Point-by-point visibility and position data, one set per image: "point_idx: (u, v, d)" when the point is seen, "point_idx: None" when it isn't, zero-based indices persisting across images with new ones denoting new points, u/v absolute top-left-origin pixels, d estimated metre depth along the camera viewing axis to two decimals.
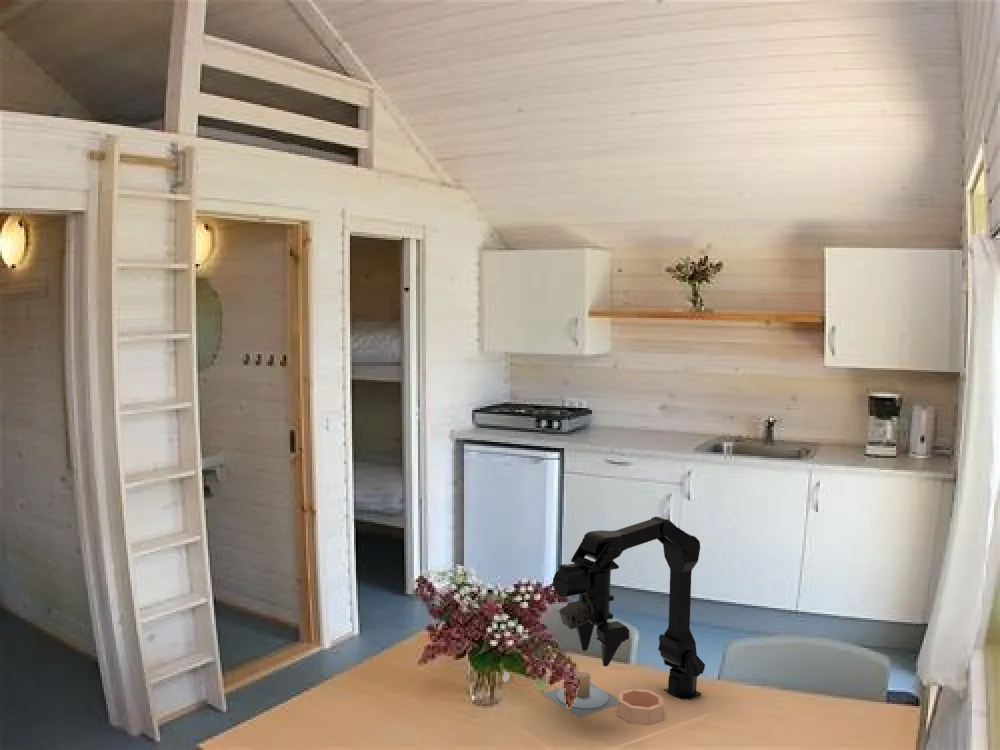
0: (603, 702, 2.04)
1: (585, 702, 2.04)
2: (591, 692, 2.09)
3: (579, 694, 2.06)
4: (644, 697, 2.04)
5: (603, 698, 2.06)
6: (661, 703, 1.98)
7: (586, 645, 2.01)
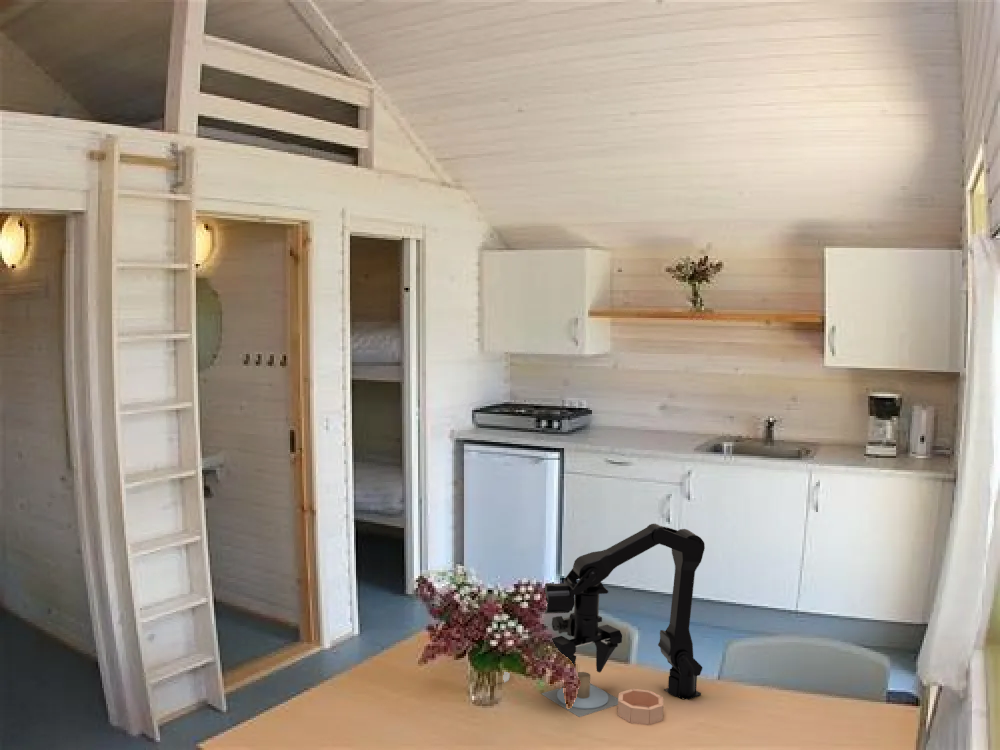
0: (603, 702, 2.04)
1: (585, 702, 2.04)
2: (591, 692, 2.09)
3: (579, 694, 2.06)
4: (644, 697, 2.04)
5: (603, 698, 2.06)
6: (661, 703, 1.98)
7: (599, 667, 2.09)
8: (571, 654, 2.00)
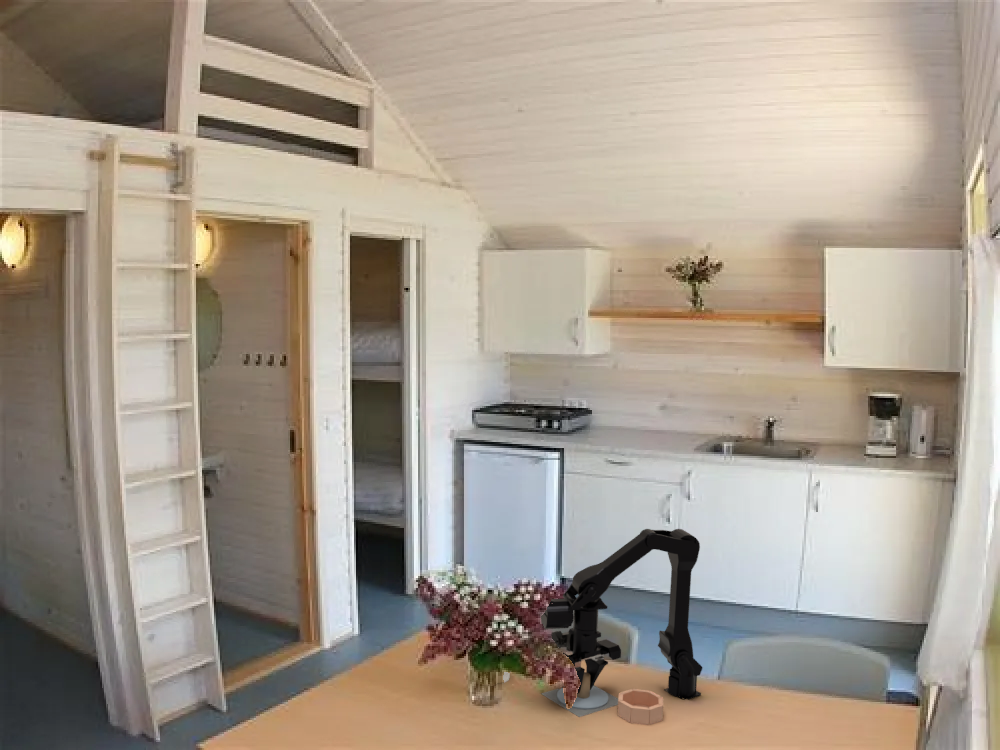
0: (603, 702, 2.04)
1: (586, 702, 2.04)
2: (591, 692, 2.09)
3: (579, 694, 2.06)
4: (644, 697, 2.04)
5: (603, 698, 2.06)
6: (661, 703, 1.98)
7: None
8: None
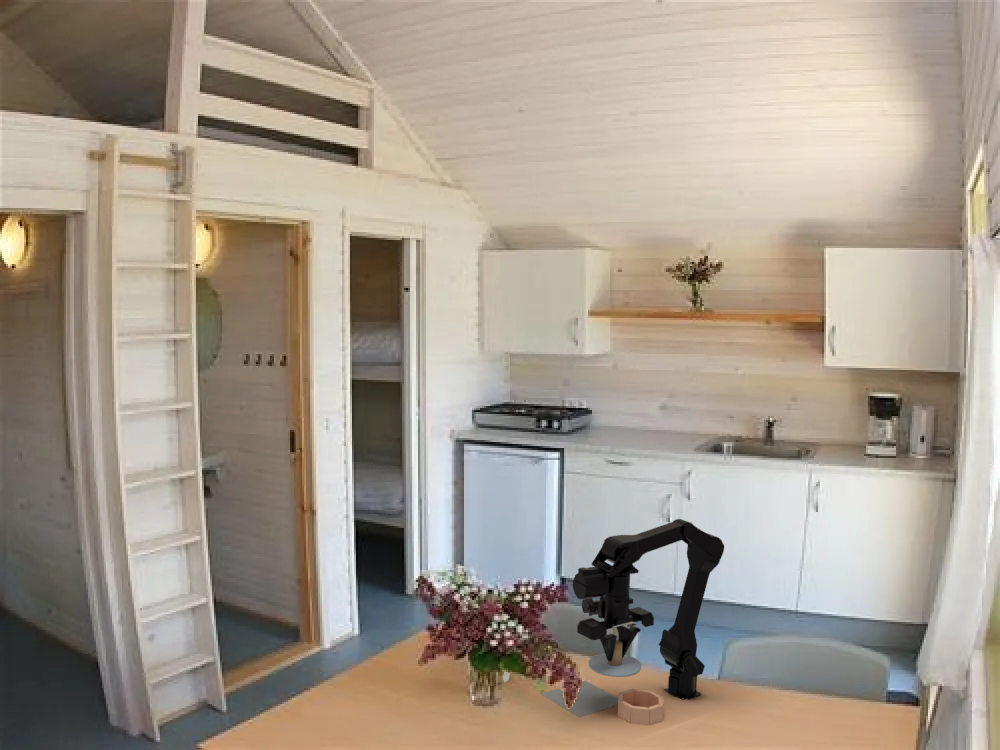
0: (636, 670, 1.99)
1: (618, 669, 1.99)
2: (623, 660, 2.05)
3: (611, 662, 2.02)
4: (644, 697, 2.04)
5: (636, 666, 2.02)
6: (661, 703, 1.98)
7: None
8: (602, 636, 1.96)
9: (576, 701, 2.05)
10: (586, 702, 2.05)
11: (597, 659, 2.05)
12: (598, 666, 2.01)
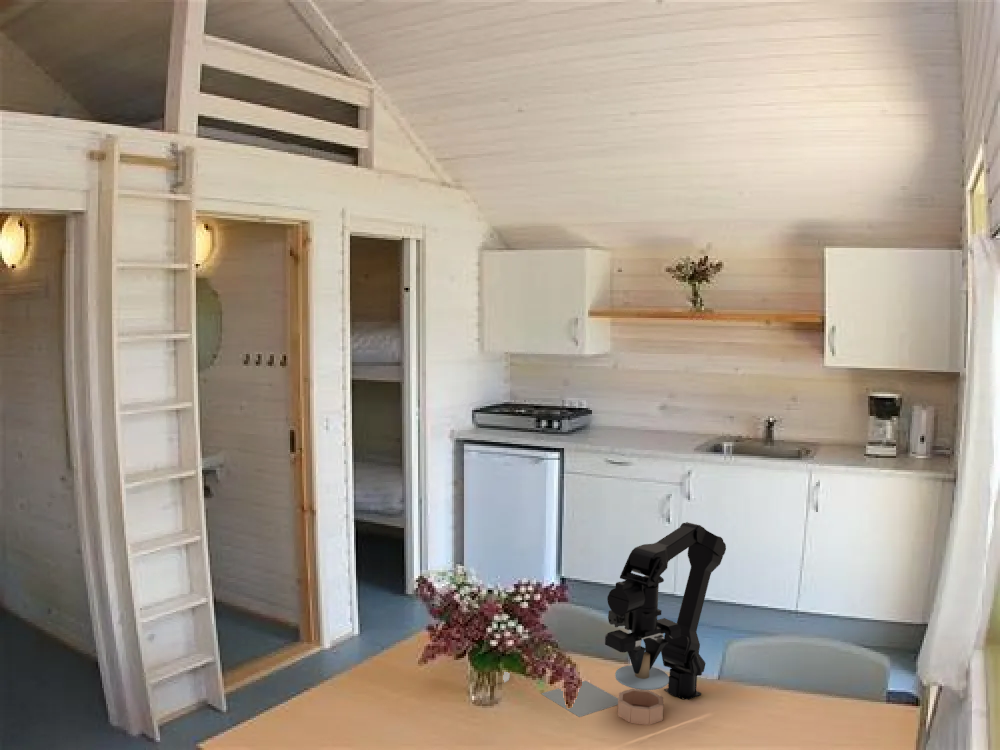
0: (664, 682, 1.96)
1: (646, 682, 1.96)
2: (650, 672, 2.01)
3: (639, 674, 1.98)
4: (644, 697, 2.04)
5: (664, 678, 1.98)
6: (661, 703, 1.98)
7: None
8: (631, 648, 1.93)
9: (576, 701, 2.05)
10: (586, 702, 2.05)
11: (623, 671, 2.02)
12: (626, 679, 1.98)
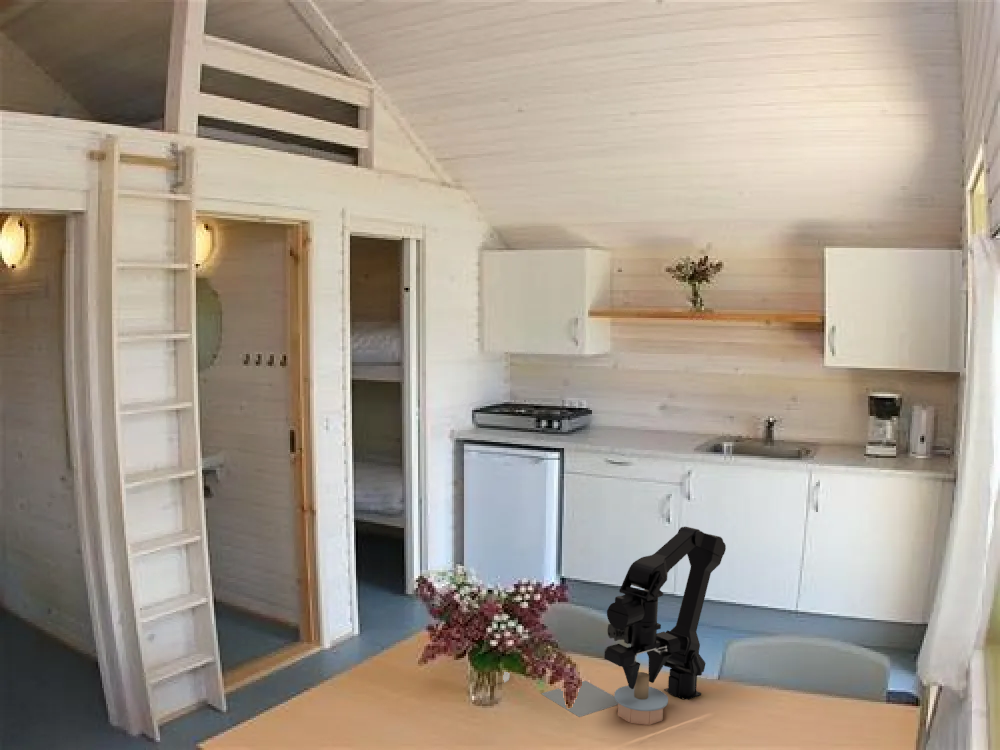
0: (663, 703, 1.97)
1: (645, 703, 1.96)
2: (649, 693, 2.02)
3: (638, 695, 1.99)
4: None
5: (663, 699, 1.99)
6: None
7: (651, 677, 2.01)
8: (630, 663, 1.93)
9: (576, 701, 2.05)
10: (586, 702, 2.05)
11: (623, 692, 2.02)
12: (625, 699, 1.98)
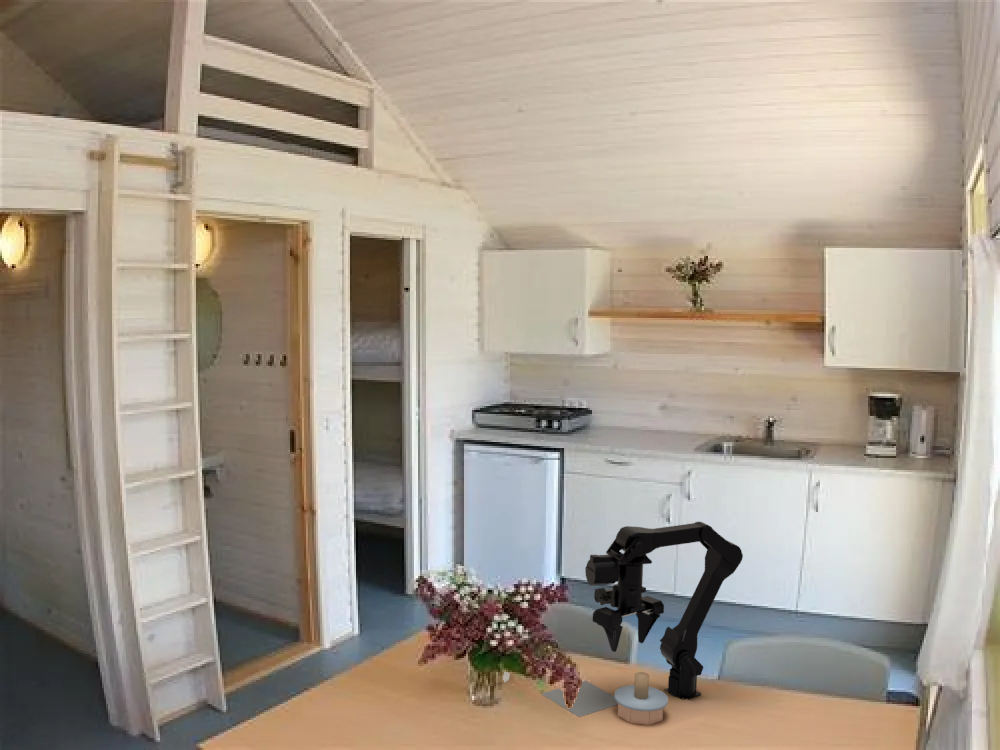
0: (663, 703, 1.97)
1: (645, 703, 1.96)
2: (649, 693, 2.02)
3: (638, 695, 1.99)
4: None
5: (663, 699, 1.99)
6: None
7: (641, 638, 2.09)
8: (618, 624, 2.00)
9: (576, 701, 2.05)
10: (586, 702, 2.05)
11: (623, 692, 2.02)
12: (625, 699, 1.98)
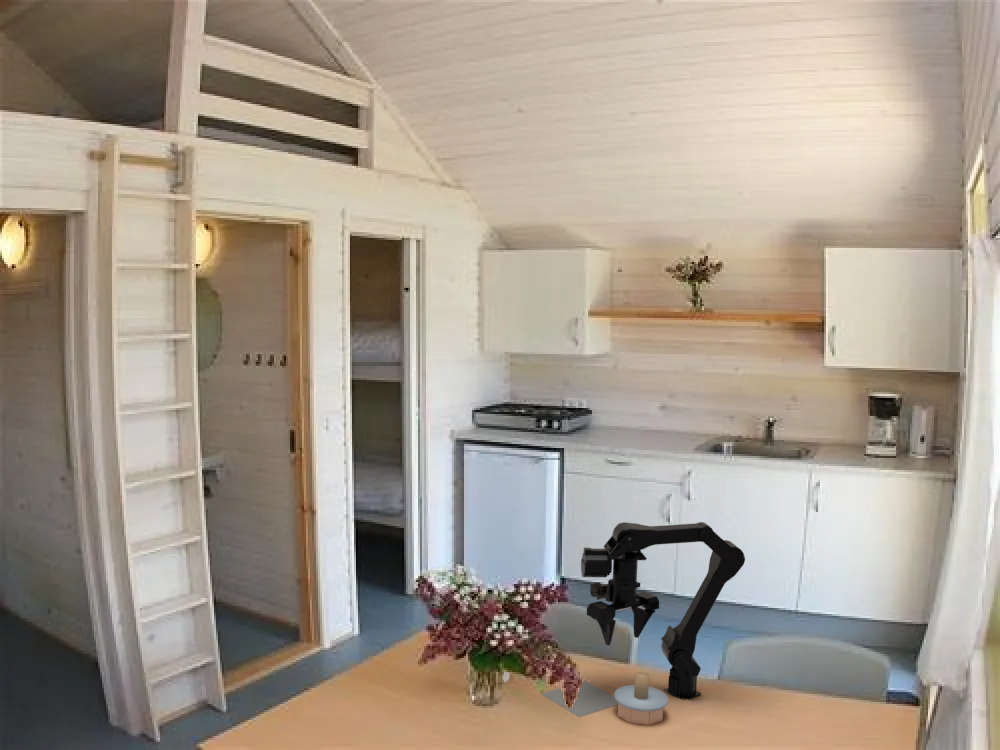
0: (663, 703, 1.97)
1: (645, 703, 1.96)
2: (649, 693, 2.02)
3: (638, 695, 1.99)
4: None
5: (663, 699, 1.99)
6: None
7: (636, 633, 2.13)
8: (611, 618, 2.04)
9: (576, 701, 2.05)
10: (586, 702, 2.05)
11: (623, 692, 2.02)
12: (625, 699, 1.98)
